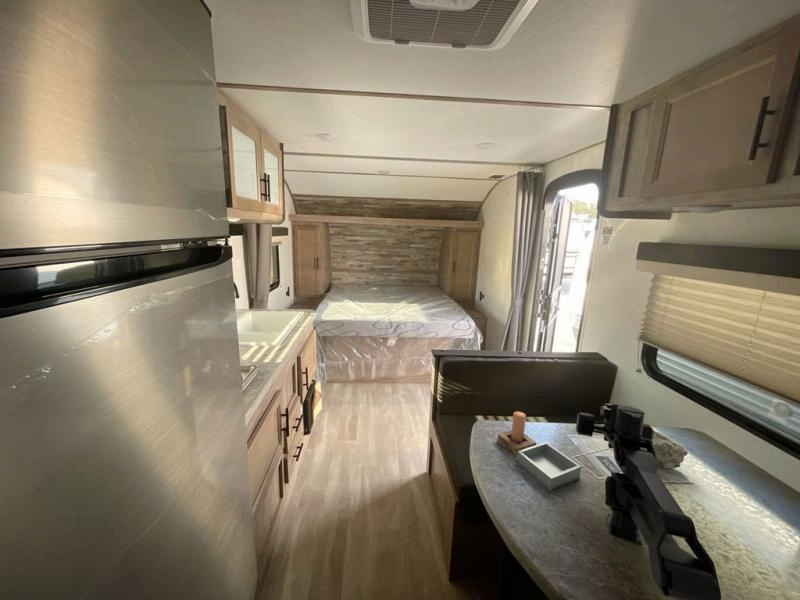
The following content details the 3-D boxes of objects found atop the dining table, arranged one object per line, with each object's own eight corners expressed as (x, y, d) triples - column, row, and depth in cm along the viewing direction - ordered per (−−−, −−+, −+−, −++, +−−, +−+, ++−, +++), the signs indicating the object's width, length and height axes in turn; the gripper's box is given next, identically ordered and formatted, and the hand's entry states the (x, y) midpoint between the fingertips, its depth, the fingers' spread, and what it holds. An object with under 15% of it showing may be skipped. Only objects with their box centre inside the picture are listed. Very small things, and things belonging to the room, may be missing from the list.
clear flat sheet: (571, 456, 107) (610, 447, 113) (570, 458, 107) (609, 448, 113) (599, 479, 97) (640, 467, 103) (599, 480, 97) (640, 469, 103)
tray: (579, 478, 97) (581, 466, 97) (549, 490, 92) (551, 478, 91) (544, 452, 109) (545, 441, 108) (516, 462, 103) (517, 451, 103)
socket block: (535, 450, 110) (536, 442, 109) (516, 456, 106) (517, 448, 105) (516, 435, 118) (516, 428, 117) (497, 441, 114) (498, 433, 113)
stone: (699, 461, 98) (652, 451, 98) (671, 479, 105) (627, 470, 105) (680, 433, 106) (637, 424, 105) (655, 451, 113) (615, 443, 113)
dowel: (521, 450, 109) (525, 418, 107) (509, 447, 111) (513, 415, 109) (522, 444, 113) (526, 413, 111) (510, 441, 114) (514, 410, 112)
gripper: (667, 420, 82) (642, 398, 97) (586, 406, 88) (574, 387, 103) (661, 461, 83) (637, 433, 98) (581, 444, 89) (570, 420, 104)
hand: (604, 417), depth 101 cm, fingers open, 9 cm apart
